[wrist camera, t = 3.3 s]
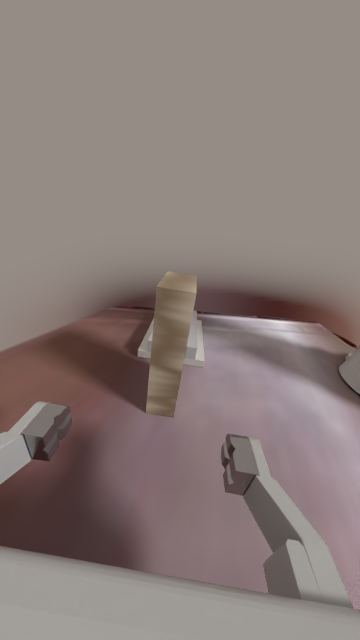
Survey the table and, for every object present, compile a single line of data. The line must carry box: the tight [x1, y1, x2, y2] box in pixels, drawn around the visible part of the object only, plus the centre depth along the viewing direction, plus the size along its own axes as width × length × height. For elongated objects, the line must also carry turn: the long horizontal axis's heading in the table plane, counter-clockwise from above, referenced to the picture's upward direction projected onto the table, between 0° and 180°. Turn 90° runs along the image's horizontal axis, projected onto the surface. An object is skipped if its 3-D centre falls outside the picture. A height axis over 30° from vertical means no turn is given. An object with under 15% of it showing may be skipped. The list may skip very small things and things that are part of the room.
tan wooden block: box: [146, 272, 196, 417], centre depth 19 cm, size 3×6×14 cm, turn 176°
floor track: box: [138, 311, 204, 367], centre depth 33 cm, size 10×14×3 cm
